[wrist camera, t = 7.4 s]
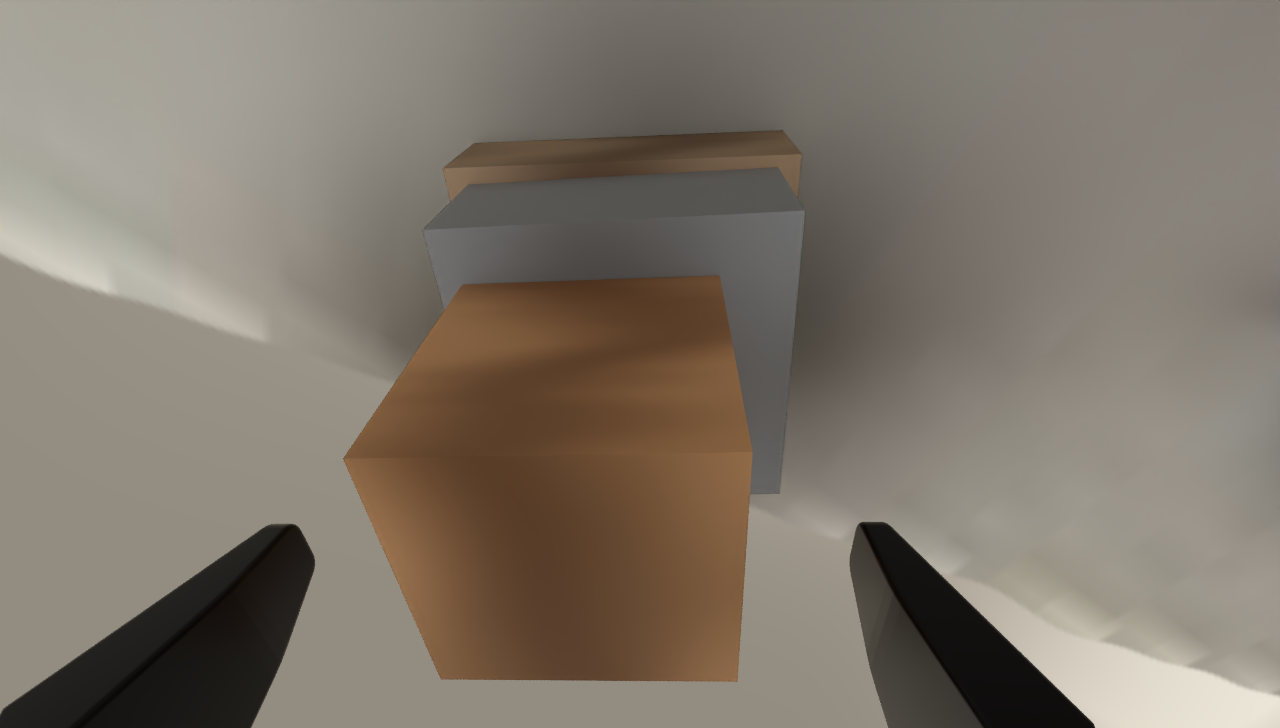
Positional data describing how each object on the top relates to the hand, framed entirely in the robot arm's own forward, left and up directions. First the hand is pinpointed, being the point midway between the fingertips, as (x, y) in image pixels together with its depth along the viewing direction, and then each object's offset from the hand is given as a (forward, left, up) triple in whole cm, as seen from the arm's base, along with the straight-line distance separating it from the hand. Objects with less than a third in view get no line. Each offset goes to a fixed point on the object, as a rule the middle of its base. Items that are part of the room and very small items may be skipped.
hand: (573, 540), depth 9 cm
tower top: (-1, 0, -7) cm, 7 cm away
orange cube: (0, 0, -4) cm, 4 cm away
